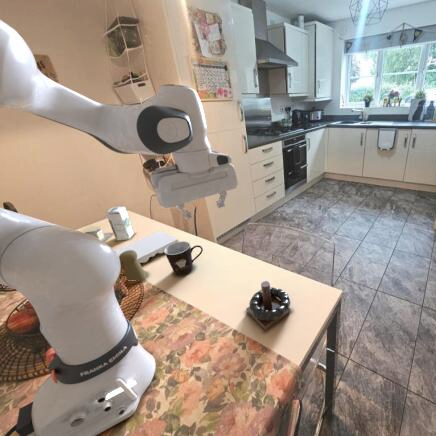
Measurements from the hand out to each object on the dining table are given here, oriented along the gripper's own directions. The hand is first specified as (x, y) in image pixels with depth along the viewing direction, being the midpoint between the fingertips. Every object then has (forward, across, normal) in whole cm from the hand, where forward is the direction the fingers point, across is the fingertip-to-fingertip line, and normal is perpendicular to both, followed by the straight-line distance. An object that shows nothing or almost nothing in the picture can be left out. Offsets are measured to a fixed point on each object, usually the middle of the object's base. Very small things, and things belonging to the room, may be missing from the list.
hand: (205, 212), depth 65 cm
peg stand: (+29, +6, -16) cm, 34 cm away
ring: (+26, +7, -16) cm, 31 cm away
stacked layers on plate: (+29, -25, +77) cm, 86 cm away
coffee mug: (+29, -3, +21) cm, 36 cm away
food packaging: (+29, -10, +46) cm, 55 cm away
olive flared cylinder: (+29, -18, +30) cm, 46 cm away
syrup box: (+29, -14, +68) cm, 75 cm away
